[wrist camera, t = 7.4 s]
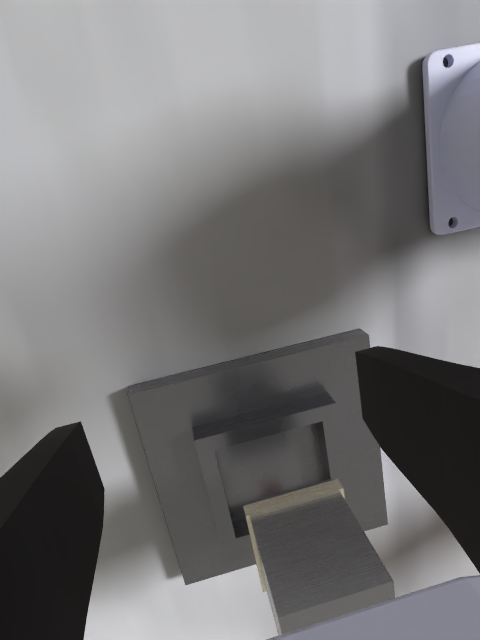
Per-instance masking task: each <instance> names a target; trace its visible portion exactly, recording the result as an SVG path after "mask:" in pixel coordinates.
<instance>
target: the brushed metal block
mask: <svg viewBox="0 0 480 640" xmlns="http://www.w3.org/2000/svg"><path fill="white" fill-rule="evenodd" d="M243 508H244V512H245V516H246V521H247V525H248V529H249V534H250V538H251V542H252V547H253V551H254V555H255V560H256V564H257V568H258V573H259V577H260V581H261V585H262V589H263V592H265V591H267V594H268V597H269V601H270V605H271V608H272V612H273V616H274V620H275V623H276V627H277V631H278V634H279V635H282V634H286V633H289V632H292V631H295V630H298V629H301V628H304V627H307V626H310V625H313V624H317V623H320V622H323V621H326V620H329V619H332V618H335V617H338V616H341V615H344V614H348V613H351V612H354V611H357V610H360V609H363V608H366V607H369V606H372V605H375V604H379V603H382V602H385V601H388V600H391V599H394V598H395V593H394V583H393V580H392V578H391V576H390V575H389V573H388V571H387V570H386V568H385V566H384V565H383V563H382V561H381V560H380V558H379V556H378V555H377V553H376V551H375V550H374V548H373V546H372V544H371V543H370V541H369V539H368V538H367V536H366V534H365V533H364V531H363V529H362V528H361V526H360V524H359V523H358V521H357V519H356V518H355V516H354V514H353V512H352V511H351V509H350V507H349V506H348V504H347V502H346V501H345V496H344V488H343V487H342V485H341V483H340V482H339V480H338V479H336V480H333V479H332V478H331V479H328V480H324V481H321V482H317V483H314V484H310V485H307V486H303V487H300V488H296V489H293V490H289V491H286V492H282V493H279V494H275V495H272V496H268V497H265V498H261V499H258V500H254V501H251V502H247V503H246V505H245V506H243Z"/></svg>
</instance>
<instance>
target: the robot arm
mask: <svg viewBox="0 0 480 640" xmlns="http://www.w3.org/2000/svg"><path fill="white" fill-rule="evenodd" d="M444 57H446V58H447V59H448V66H447V68H445V67H444V66H443V58H444ZM422 68H423V89H424V110H425V131H426V152H427V173H428V194H429V215H430V228H431V231H432V232H433V233H435V234H437V235H445V234H450V233H454V232H459V231H463V230H467V229H472V228H476V227H480V43H475V44H469V45H464V46H458V47H453V48H447V49H441V50H436V51H434V52H432V53H429V54H428V55H427V56H426V57H425V59H424V61H423V66H422ZM450 218H452V219H453V224H452V225H451V226H450V227H449V225H448V222H449V220H450ZM355 356H356V365H357V373H358V382H359V391H360V400H361V409H362V418H363V420H364V422H365V423H366V425H367V427H368V428H369V430H370V432H371V433H372V435H373V436H374V438H375V439H376V441H377V443H378V444H379V446H380V447H381V448H382V450H383V451H384V452H385V453H386V454H387V456H388V457H389V458H390V459H391V460H392V462H393V463H394V464H395V465H396V466H397V467H398V469H399V470H400V471H401V472H402V473H403V474H404V476H405V477H406V478H407V479H408V480H409V481H410V483H411V484H412V485H413V486H414V487H415V488H416V490H417V491H418V492H419V493H420V494H421V495H422V496H423V498H424V499H425V500H426V501H427V502H428V503H429V505H430V506H431V507H432V508H433V509H434V510H435V512H436V513H437V514H438V515H439V517H440V518H441V519H442V520H443V522H444V523H445V524H446V525H447V527H448V528H449V529H450V531H451V532H452V534H453V535H454V537H455V538H456V540H457V541H458V542H459V544H460V545H461V547H462V548H463V550H464V551H465V552H466V554H467V555H468V557H469V558H470V560H471V561H472V562H473V564H474V565H475V567H476V568H477V570H478V572H479V573H480V368H476V367H471V366H465V365H460V364H456V363H451V362H447V361H443V360H438V359H434V358H430V357H426V356H422V355H418V354H414V353H410V352H405V351H401V350H397V349H392V348H387V347H379V346H376V347H372V348H368V349H364V350H360V351H356V352H355ZM103 517H104V486H103V484H102V481H101V478H100V475H99V472H98V469H97V466H96V464H95V461H94V458H93V455H92V452H91V449H90V446H89V444H88V441H87V438H86V435H85V432H84V429H83V426H82V424H81V422H77V423H73V424H69V425H65V426H62V427H58V428H55V429H54V430H52V431H51V432H50V433H48V434H47V435H46V436H45V437H44V438H43V439H42V440H40V441H39V442H38V443H37V444H36V445H35V446H34V447H33V448H32V449H31V450H30V451H29V452H28V453H27V454H25V455H24V456H23V457H22V458H21V459H20V460H19V461H18V462H17V463H16V464H15V465H14V466H13V467H12V468H11V469H9V470H8V471H7V472H6V473H5V474H4V475H3V476H2V477H1V478H0V640H83V639H84V632H85V624H86V617H87V612H88V606H89V601H90V596H91V590H92V585H93V579H94V574H95V569H96V563H97V558H98V552H99V547H100V541H101V535H102V529H103ZM267 640H480V575H478V576H468V577H459V578H456V579H453V580H450V581H447V582H444V583H441V584H437V585H434V586H431V587H428V588H425V589H422V590H419V591H416V592H413V593H410V594H406V595H403V596H400V597H397V598H394V599H391V600H388V601H385V602H382V603H379V604H375V605H372V606H369V607H366V608H363V609H360V610H357V611H354V612H351V613H348V614H344V615H341V616H338V617H335V618H332V619H329V620H326V621H323V622H320V623H317V624H313V625H310V626H307V627H304V628H301V629H298V630H295V631H292V632H289V633H286V634H282V635H279V636H276V637H273V638H270V639H267Z"/></svg>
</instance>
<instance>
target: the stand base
mask: <svg viewBox="0 0 480 640" xmlns="http://www.w3.org/2000/svg"><path fill="white" fill-rule="evenodd" d="M368 348H370V342H369V335H368V334H367V333H365V332H364V331H363V330H361V329H357V330H353V331H349V332H345V333H341V334H337V335H333V336H329V337H325V338H321V339H317V340H313V341H309V342H305V343H301V344H297V345H293V346H289V347H285V348H281V349H277V350H273V351H269V352H264V353H260V354H256V355H252V356H248V357H244V358H240V359H236V360H232V361H228V362H224V363H220V364H216V365H212V366H208V367H204V368H200V369H196V370H192V371H188V372H184V373H180V374H176V375H172V376H168V377H164V378H160V379H156V380H152V381H148V382H144V383H140V384H136V385H132V386H129V390H128V398H129V401H130V404H131V408H132V411H133V414H134V417H135V421H136V424H137V427H138V431H139V434H140V437H141V440H142V444H143V447H144V450H145V454H146V457H147V460H148V463H149V467H150V470H151V473H152V477H153V480H154V483H155V486H156V490H157V493H158V496H159V500H160V503H161V506H162V509H163V513H164V516H165V519H166V523H167V526H168V529H169V532H170V536H171V539H172V542H173V546H174V549H175V552H176V555H177V559H178V562H179V565H180V569H181V572H182V575H183V578H184V582H185V585H188V584H192V583H195V582H198V581H201V580H205V579H208V578H211V577H215V576H218V575H221V574H225V573H228V572H231V571H235V570H238V569H241V568H244V567H248V566H251V565H254V564H256V560H255V555H254V551H253V547H252V542H251V538H250V534H249V529H248V525H247V521H246V516H245V512H244V508H243V506H245V505H246V503H247V502H251V501H254V500H258V499H261V498H265V497H268V496H272V495H275V494H279V493H282V492H286V491H289V490H293V489H296V488H300V487H303V486H307V485H310V484H314V483H317V482H321V481H324V480H328V479H331V478H332V479H333V480H336V479H338V480H339V482H340V483H341V485H342V487H343V488H344V496H345V501H346V502H347V504H348V506H349V507H350V509H351V511H352V512H353V514H354V516H355V518H356V519H357V521H358V523H359V524H360V526H361V528H362V529H363V531H367V530H370V529H373V528H377V527H380V526H383V525H387V524H388V522H387V512H386V502H385V492H384V482H383V472H382V462H381V452H380V446H379V444H378V443H377V441H376V439H375V438H374V436H373V435H372V433H371V432H370V430H369V428H368V427H367V425H366V423H365V422H364V420H363V418H362V409H361V400H360V391H359V382H358V373H357V365H356V356H355V352H356V351H360V350H364V349H368Z"/></svg>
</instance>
